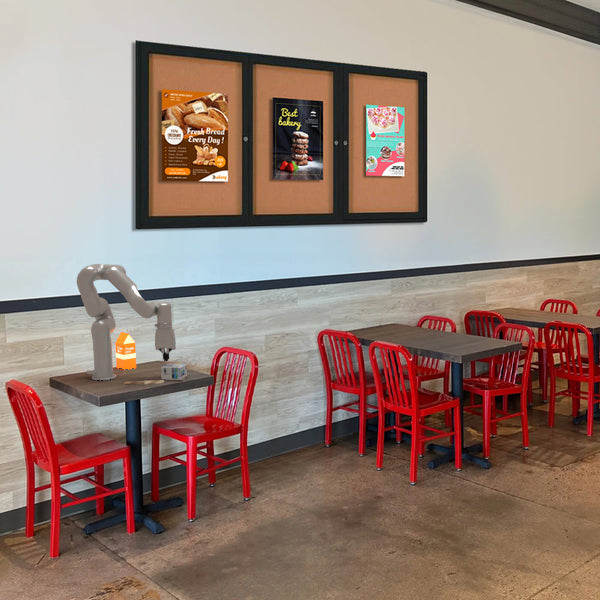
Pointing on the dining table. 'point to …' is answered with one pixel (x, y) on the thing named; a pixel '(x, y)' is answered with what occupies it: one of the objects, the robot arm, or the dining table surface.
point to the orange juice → (125, 352)
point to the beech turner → (146, 382)
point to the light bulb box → (173, 371)
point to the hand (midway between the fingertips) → (166, 360)
